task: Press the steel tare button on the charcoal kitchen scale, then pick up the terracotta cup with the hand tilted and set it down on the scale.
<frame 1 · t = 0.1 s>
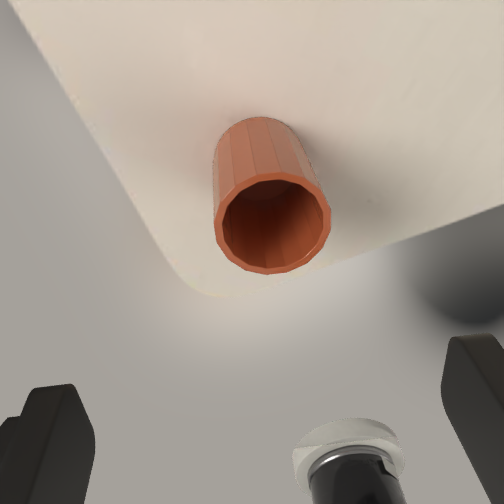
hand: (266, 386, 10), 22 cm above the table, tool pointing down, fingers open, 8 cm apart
cup: (258, 161, 31), on the table
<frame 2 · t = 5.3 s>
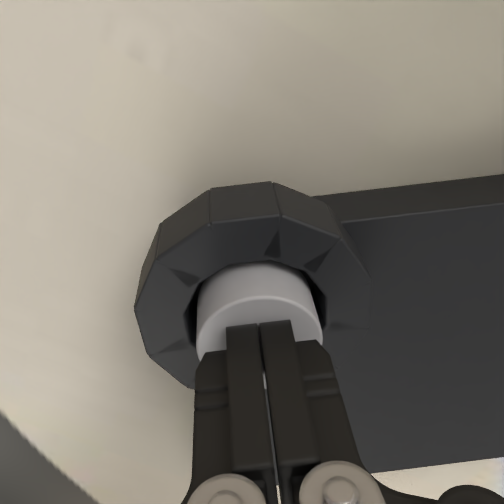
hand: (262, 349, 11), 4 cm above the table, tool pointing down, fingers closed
tare button: (257, 322, 12), point 4 cm above the table, slide at -0.3 cm, touching gripper
scale: (394, 333, 17), on the table
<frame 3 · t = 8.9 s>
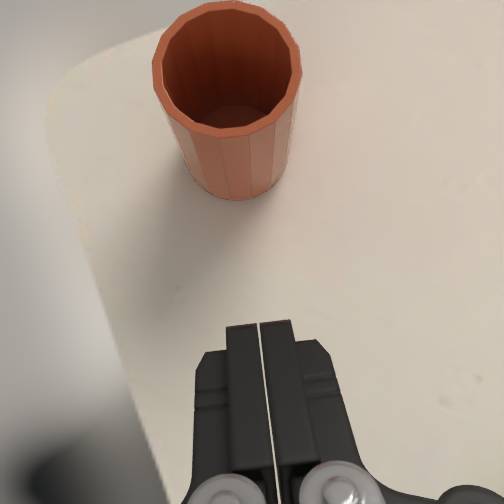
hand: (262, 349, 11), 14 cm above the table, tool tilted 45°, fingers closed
cup: (236, 151, 27), on the table
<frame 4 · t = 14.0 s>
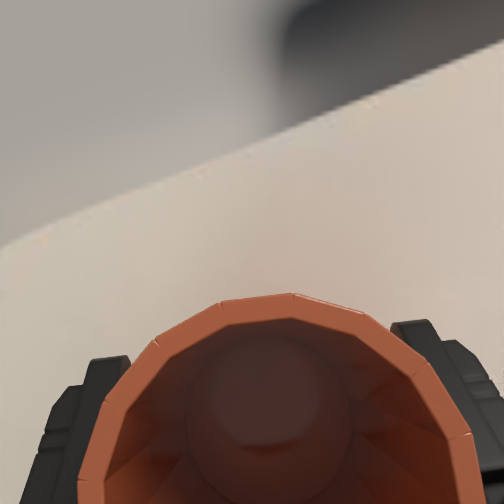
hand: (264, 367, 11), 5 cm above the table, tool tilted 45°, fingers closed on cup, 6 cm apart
cup: (268, 418, 15), on the table, touching gripper
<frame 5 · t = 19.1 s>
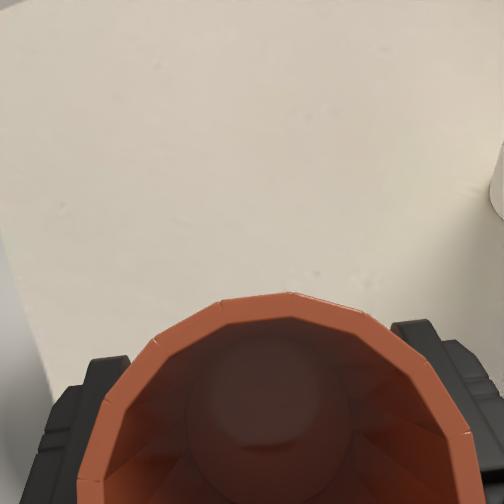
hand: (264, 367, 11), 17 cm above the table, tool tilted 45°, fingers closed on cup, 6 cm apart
cup: (268, 417, 15), point 13 cm above the table, touching gripper
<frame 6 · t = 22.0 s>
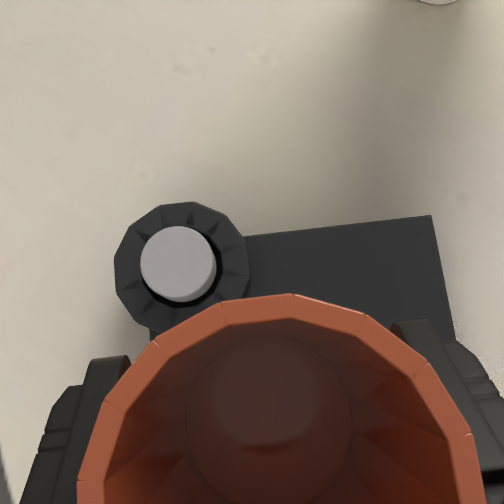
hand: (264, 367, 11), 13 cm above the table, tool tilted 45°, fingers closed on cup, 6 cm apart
cup: (268, 418, 15), point 8 cm above the table, touching gripper
tare button: (179, 265, 20), point 4 cm above the table, slide at 0.1 cm
scale: (301, 357, 23), on the table
when the fingers open (6 cm above the table, at t = 24.5 s): cup stays where it is, resting on scale.
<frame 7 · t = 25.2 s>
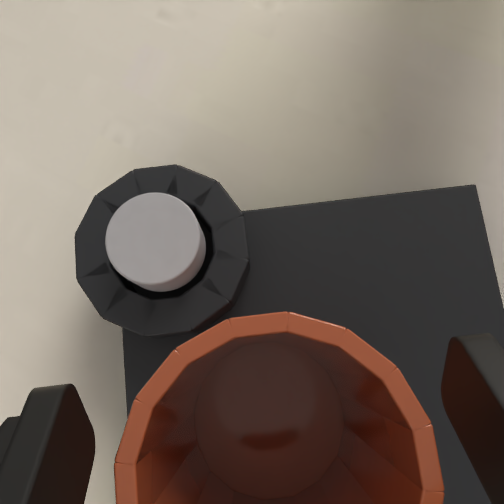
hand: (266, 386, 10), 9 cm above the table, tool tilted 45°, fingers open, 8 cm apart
cup: (268, 416, 17), point 2 cm above the table, touching scale
tare button: (158, 243, 16), point 4 cm above the table, slide at 0.1 cm
scale: (313, 362, 19), on the table
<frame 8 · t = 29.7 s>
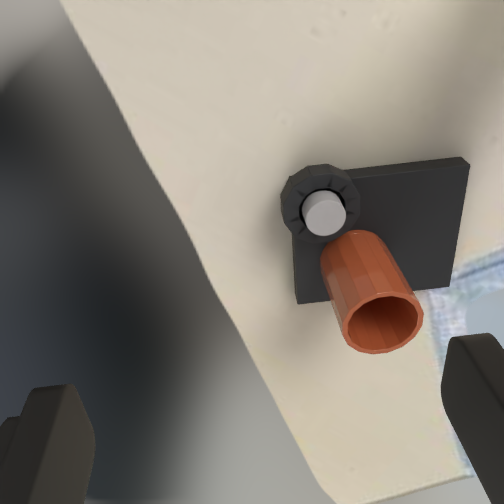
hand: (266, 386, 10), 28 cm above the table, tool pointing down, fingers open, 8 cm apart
cup: (352, 258, 41), point 2 cm above the table, touching scale
tare button: (323, 213, 36), point 4 cm above the table, slide at 0.1 cm
scale: (371, 230, 42), on the table
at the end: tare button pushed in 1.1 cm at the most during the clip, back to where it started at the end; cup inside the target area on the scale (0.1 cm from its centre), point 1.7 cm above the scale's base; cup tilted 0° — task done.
